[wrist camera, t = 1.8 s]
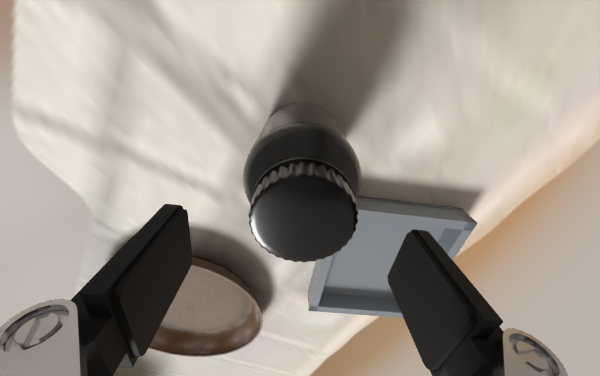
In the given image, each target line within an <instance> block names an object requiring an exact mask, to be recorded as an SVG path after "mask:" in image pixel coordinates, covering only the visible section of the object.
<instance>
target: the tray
mask: <svg viewBox="0 0 600 376" xmlns="http://www.w3.org/2000/svg"><path fill="white" fill-rule="evenodd" d="M356 206H357V209H358V215H357V218H358V223H357V224H356V231H355V232H354V233H353V236H352V239H350V240H349V241H348V243H347V245H346V246H344V247H342V249H341V250H340V251H338V252H335V253H334V254H333V255H332V256H328V257H326V258H324V259H318V260H316V263H315V267H314V271H313V275H312V279H311V283H310V287H309V291H308V303H309V311H320V312H333V313H346V314H360V315H373V316H387V317H401V318H403V315H402V313H401V311H400V308H399V306H398V304H397V302H396V299H395V297H394V295H393V293H392V290H391V288H390V286H389V283H388V274H389V271H390V269H391V267H392V265H393V263H394V261H395V258H396V256H397V254H398V252H399V250H400V247H401V245H402V243H403V241H404V239H405V236H406V234H407V233H408V232H411V230H413V229H416V230H426V231H428V232H429V233H430V234H431V235H432V236H433V237H434V239H435V240H436V241H437V242H438V243H439V245H440V246H441V247H442V248H443V250H444V251H445V252H446V253H447V254H448V256H449V257H450V258H451V259H452V260H453V259H454V258H455V256H456V255H457V253H458V252H459V250H460V249H461V247H462V246H463V244H464V243H465V241H466V240H467V238H468V237H469V235H470V234H471V232H472V231H473V229H474V228H475V226H476V225H477V222H476V221H475V220H474V219H472V218H471V217H470V216H469V215H468V214H467V213H466V212H465V211H464V210H462V209H461V208H454V207H445V206H437V205H428V204H420V203H411V202H403V201H394V200H386V199H377V198H368V197H360V196H358V197H357V199H356Z"/></svg>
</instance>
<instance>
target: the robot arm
mask: <svg viewBox="0 0 600 376" xmlns="http://www.w3.org/2000/svg"><path fill="white" fill-rule="evenodd" d="M191 265H192V249H191V241H190V232H189V223H188V214H187V210H184V209H183V207H182V206H181V205H171V204H165V205H164V206H163V207H162V208H161V209H160V210H159V211H158V212H157V213H156V214H155V215H154V216H153V217H152V218H151V219H150V220H149V221H148V222H147V223H146V224H145V225H144V226H143V227H142V228H141V229H140V230H139V231H138V232H137V234H136V235H135V236H133V237H132V238H131V239H130V240H129V241H128V242H127V243H126V244H125V245H124V246H123V247H122V248H121V249H120V250H119V251H118V252H117V253H116V254H115V255H114V256H113V257H112V258H111V259H110V260H109V261H108V262H107V263H106V264H105V265H104V266H103V267H102V268H101V269H100V271H99V272H98V273H97V274H96V275H95V276H94V277H93V278H92V279H91V280H90V281H89V282H88V283H87V284H86V285H85V286H84V287H83V288H82V289H81V290H80V291H79V292H78V293H77V294H76V295H75V296H74V297H73V298H72V299H71V300H64V299H57V300H50V301H46V302H43V303H39V304H37V305H34V306H32V307H30V308H28V309H26V310H24V311H22V312H20V313H19V314H17V315H15V316H14V317H12V318H11V319H10V320H9V321H7V322H6V323H5V324H4V325H2V326H1V327H0V376H113V375H114V373H115V371H116V369H117V368H118V367H133V366H134V364H135V362H136V360H137V358H138V357H139V356H143V355H144V354H145V353H146V351H147V349H148V347H149V346H150V344H151V342H152V340H153V338H154V336H155V334H156V332H157V330H158V328H159V327H160V325H161V323H162V321H163V319H164V317H165V315H166V313H167V311H168V309H169V307H170V306H171V304H172V302H173V300H174V298H175V296H176V294H177V292H178V290H179V288H180V287H181V285H182V283H183V281H184V279H185V277H186V275H187V273H188V271H189V269H190V267H191ZM388 283H389V286H390V288H391V290H392V293H393V295H394V297H395V299H396V302H397V304H398V306H399V308H400V311H401V313H402V315H403V318H404V320H405V322H406V324H407V327H408V329H409V331H410V333H411V336H412V338H413V340H414V342H415V345H416V347H417V349H418V352H419V354H420V356H421V358H422V361H423V363H424V365H425V366H426V368H428V369H429V370H430V371H431V374H432V376H568V375H567V372H566V370H565V368H564V366H563V364H562V363H561V362H560V360H559V359H558V358H557V356H556V355H555V354H554V353H553V352H552V351H551V350H550V349H549V348H548V347H546V346H545V345H544V344H543V343H542V342H540V341H539V340H537V339H536V338H534V337H533V336H531V335H530V334H527V333H525V332H523V331H521V330H517V329H514V328H512V329H506V330H505V331H502V329H501V328H500V327H499V326H500V325H501V324H502V323H503V321H502V319H501V318H500V317H499V316H498V315H497V313H496V312H495V311H494V310H493V309H492V307H491V306H490V305H489V304H488V303H487V301H486V300H485V299H484V298H483V297H482V295H481V294H480V293H479V292H478V291H477V289H476V288H475V287H474V286H473V284H472V283H471V282H470V281H469V280H468V279H467V277H466V276H465V275H464V274H463V272H462V271H461V270H460V269H459V268H458V266H457V265H456V264H455V263H454V262H453V260H452V259H451V258H450V257H449V256H448V254H447V253H446V252H445V251H444V250H443V248H442V247H441V246H440V245H439V243H438V242H437V241H436V240H435V239H434V237H433V236H432V235H431V234H430V233H429V232H428V231H426V230H416V229H413V230H411V232H408V233H407V234H406V236H405V239H404V241H403V243H402V245H401V247H400V250H399V252H398V254H397V256H396V258H395V261H394V263H393V265H392V267H391V269H390V271H389V274H388Z"/></svg>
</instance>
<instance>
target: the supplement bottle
mask: <svg viewBox="0 0 600 376" xmlns="http://www.w3.org/2000/svg"><path fill="white" fill-rule="evenodd" d="M243 183H244V189H245V193H246V196H247V198H248V201H249V203H250V204H251V208H250V211H249V218H250V221H249V225H250V227H251V228H252V229H251V232H252V234H253V235H254V236H255V240H256V241H257V242H259V243H260V245H261V247H263V248H265V249H266V250H267V251H268V252H269V253H272V254H274V255H275V256H276V257H280V258H283V259H285V260H292V261H294V262H298V261H301V262H307V261H316V260H318V259H324V258H326V257H328V256H332V255H333V254H334V253H335V252H338V251H340V250H341V249H342V247H344V246H346V245H347V243H348V241H349V240H350V239H352V236H353V233H354V232H355V231H356V224H357V223H358V218H357V215H358V209H357V206H356V199H357V197H358V194H359V191H360V186H361V169H360V164H359V161H358V159H357V156H356V154H355V152H354V150H353V148H352V147H351V145H350V144H349V142H348V141H347V139H346V138H345V136H344V135H343V133H342V132H341V130H340V129H339V127H338V126H337V124H336V123H335V121H334V120H333V119H332V117H331V116H330V115H329V114H328V113H327V112H326V111H324V110H323V109H321V108H320V107H318V106H315V105H312V104H308V103H294V104H290V105H287V106H284V107H282V108H281V109H279V110H278V111H276V112H275V113H274V114H273V115H272V116H271V117H270V119H269V120H268V121H267V123H266V125H265V126H264V128H263V130H262V132H261V133H260V135H259V137H258V139H257V140H256V142H255V144H254V146H253V148H252V149H251V151H250V153H249V155H248V158H247V160H246V163H245V167H244V173H243Z"/></svg>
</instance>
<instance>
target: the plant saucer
mask: <svg viewBox="0 0 600 376" xmlns="http://www.w3.org/2000/svg"><path fill="white" fill-rule="evenodd" d="M262 322H263V319H262V313H261V311H260V308H259V305H258V303H257V301H256V299H255V297H254V296H253V294H252V293H251V291H250V290H249V289H248V288H247V286H246V285H245V284H244V283H243V282H242V281H241V280H240V279H239V278H237V277H236V276H235V275H234V274H232V273H231V272H229V271H228V270H226V269H225V268H223V267H221V266H219V265H216V264H214V263H212V262H209V261H206V260H203V259H199V258H195V257H192V265H191V267H190V269H189V271H188V273H187V275H186V277H185V279H184V281H183V283H182V285H181V287H180V288H179V290H178V292H177V294H176V296H175V298H174V300H173V302H172V304H171V306H170V307H169V309H168V311H167V313H166V315H165V317H164V319H163V321H162V323H161V325H160V327H159V328H158V330H157V332H156V334H155V336H154V338H153V340H152V342H151V344H150V346H149V347H148V348H149V349H152V350H156V351H160V352H164V353H168V354H173V355H179V356H189V357H208V356H217V355H223V354H227V353H231V352H234V351H237V350H239V349H242V348H244V347H245V346H247V345H249V344H250V343H251V342H253V340H254V339H255V338H256V337H257V336H258V335H259V333H260V331H261V328H262Z"/></svg>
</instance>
